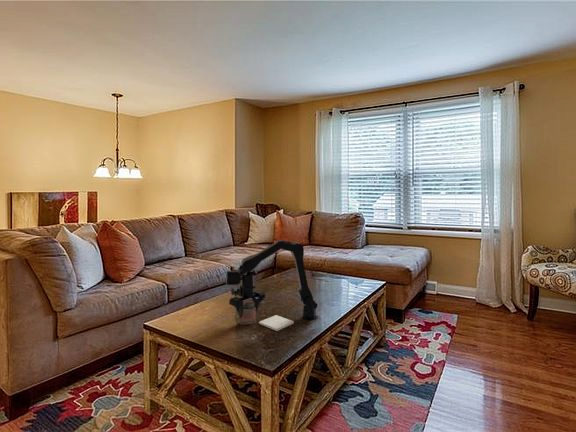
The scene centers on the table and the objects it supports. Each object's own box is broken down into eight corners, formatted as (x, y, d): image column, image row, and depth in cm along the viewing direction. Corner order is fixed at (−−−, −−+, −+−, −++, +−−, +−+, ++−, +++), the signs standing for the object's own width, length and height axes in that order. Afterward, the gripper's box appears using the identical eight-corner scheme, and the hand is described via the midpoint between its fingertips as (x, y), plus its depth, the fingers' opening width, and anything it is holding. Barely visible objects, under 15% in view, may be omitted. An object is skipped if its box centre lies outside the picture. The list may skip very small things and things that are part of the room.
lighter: (239, 324, 167) (239, 304, 166) (238, 322, 170) (238, 302, 169) (256, 323, 169) (256, 303, 168) (255, 320, 172) (255, 301, 171)
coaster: (276, 316, 177) (276, 315, 177) (293, 323, 169) (293, 321, 169) (259, 323, 168) (259, 321, 168) (276, 331, 160) (276, 328, 160)
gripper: (251, 277, 180) (251, 306, 181) (221, 284, 166) (222, 316, 167) (266, 281, 172) (265, 311, 174) (236, 289, 158) (237, 322, 160)
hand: (247, 315), depth 169 cm, fingers open, 9 cm apart
